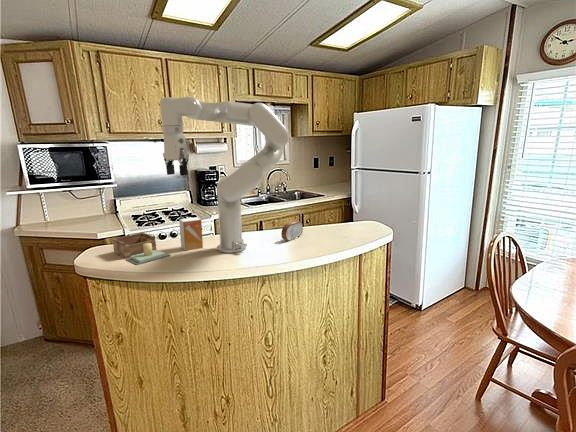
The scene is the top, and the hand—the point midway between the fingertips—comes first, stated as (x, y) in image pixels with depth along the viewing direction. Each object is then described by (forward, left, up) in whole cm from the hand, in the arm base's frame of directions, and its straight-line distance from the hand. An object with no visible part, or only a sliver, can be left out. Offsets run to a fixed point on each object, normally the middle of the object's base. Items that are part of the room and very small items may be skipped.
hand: (177, 174), depth 129 cm
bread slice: (-23, -45, -33) cm, 61 cm away
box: (+17, +13, -33) cm, 39 cm away
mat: (+5, +13, -33) cm, 36 cm away
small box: (+3, -6, -33) cm, 34 cm away
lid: (+5, +13, -33) cm, 35 cm away
